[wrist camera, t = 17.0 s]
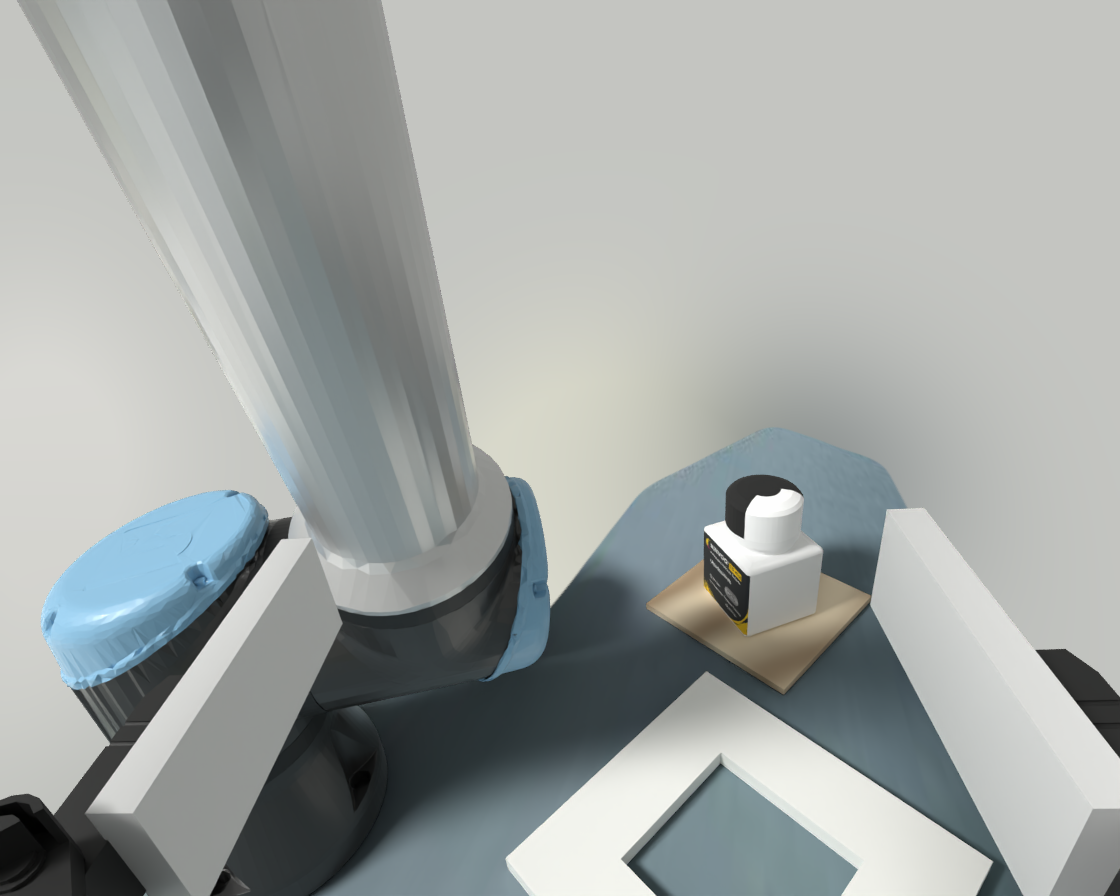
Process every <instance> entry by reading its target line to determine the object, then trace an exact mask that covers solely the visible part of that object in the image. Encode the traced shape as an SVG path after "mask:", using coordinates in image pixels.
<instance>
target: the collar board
mask: <svg viewBox="0 0 1120 896" xmlns="http://www.w3.org/2000/svg"><path fill="white" fill-rule="evenodd" d="M720 763H721V764H722V765H723V766H725V767H726V768H727V769H729V770H730V771H731V772H732V773H734V774H735V775H736V776H738V777H739V778H740V779H742V780H743V781H744V782H745V783H747V784H748V785H749V786H751V787H752V788H753V789H755V790H756V791H757V792H758V793H760V794H761V795H762V796H764V797H765V798H766V799H767V800H769V801H770V802H771V803H773V804H774V805H775V806H777V807H778V808H779V809H780V810H782V811H783V812H784V813H786V814H787V815H788V816H790V817H791V818H792V819H793V820H795V821H796V822H797V823H799V824H800V825H801V826H802V827H804V828H805V829H806V830H808V831H809V832H810V833H812V834H813V835H814V836H815V837H817V838H818V839H819V840H821V841H822V842H823V843H825V844H826V845H827V846H828V847H830V848H831V849H832V850H834V851H835V852H836V853H837V854H839V855H840V856H841V857H843V858H844V859H845V860H847V861H848V862H849V863H850V864H852V865H853V866H854V867H856V868H857V869H858V871H857V872H856V874H855V875H854V877H853V878H852V880H851V881H850V883H849V884H848V886H847V887H846V889H845V891H844V892H843V894H842V895H841V896H977V895H978V893H979V891H980V889H981V887H982V885H983V883H984V881H985V879H986V877H987V875H988V873H989V870H990V868H991V865H992V863H993V861H992V860H990V859H989V858H987V857H986V856H984V855H983V854H981V853H980V852H978V851H977V850H975V849H973V848H972V847H970V846H969V845H967V844H966V843H964V842H963V841H961V840H960V839H958V838H957V837H955V836H954V835H952V834H951V833H949V832H948V831H946V830H945V829H943V828H942V827H940V826H939V825H937V824H936V823H934V822H933V821H931V820H930V819H928V818H927V817H925V816H924V815H922V814H921V813H919V812H918V811H916V810H915V809H913V808H912V807H910V806H909V805H907V804H906V803H904V802H903V801H901V800H900V799H898V798H897V797H895V796H894V795H892V794H891V793H889V792H888V791H886V790H885V789H883V788H882V787H880V786H879V785H877V784H876V783H874V782H873V781H871V780H870V779H868V778H867V777H865V776H864V775H862V774H861V773H859V772H857V771H856V770H854V769H853V768H851V767H850V766H848V765H847V764H845V763H844V762H842V761H841V760H839V759H838V758H836V757H835V756H833V755H832V754H830V753H829V752H827V751H826V750H824V749H823V748H821V747H820V746H818V745H817V744H815V743H814V742H812V741H811V740H809V739H808V738H806V737H805V736H803V735H802V734H800V733H799V732H797V731H796V730H794V729H793V728H791V727H790V726H788V725H787V724H785V723H784V722H782V721H781V720H779V719H778V718H776V717H775V716H773V715H772V714H770V713H769V712H767V711H766V710H764V709H763V708H761V707H760V706H758V705H757V704H755V703H754V702H752V701H751V700H749V699H748V698H746V697H744V696H743V695H741V694H740V693H738V692H737V691H735V690H734V689H732V688H731V687H729V686H728V685H726V684H725V683H723V682H722V681H720V680H719V679H717V678H716V677H714V676H713V675H711V674H710V673H708V672H707V671H706V672H705V673H704V674H703V675H702V676H701V677H700V678H699V679H698V680H696V681H695V682H694V683H693V684H692V685H691V686H690V687H689V688H688V689H687V690H686V691H685V692H684V693H683V694H681V695H680V696H679V697H678V698H677V699H676V700H675V701H674V702H673V703H672V704H671V705H670V706H669V707H667V708H666V709H665V710H664V711H663V712H662V713H661V714H660V715H659V716H658V717H657V718H656V719H655V720H654V721H652V722H651V723H650V724H649V725H648V726H647V727H646V728H645V729H644V730H643V731H642V732H641V733H640V734H638V735H637V736H636V737H635V738H634V739H633V740H632V741H631V742H630V743H629V744H628V745H627V746H626V747H625V748H623V749H622V750H621V751H620V752H619V753H618V754H617V755H616V756H615V757H614V758H613V759H612V760H611V761H610V762H608V763H607V764H606V765H605V766H604V767H603V768H602V769H601V770H600V771H599V772H598V773H597V774H596V775H594V776H593V777H592V778H591V779H590V780H589V781H588V782H587V783H586V784H585V785H584V786H583V787H582V788H581V789H579V790H578V791H577V792H576V793H575V794H574V795H573V796H572V797H571V798H570V799H569V800H568V801H567V802H565V803H564V804H563V805H562V806H561V807H560V808H559V809H558V810H557V811H556V812H555V813H554V814H553V815H552V816H550V817H549V818H548V819H547V820H546V821H545V822H544V823H543V824H542V825H541V826H540V827H539V828H538V829H536V830H535V831H534V832H533V833H532V834H531V835H530V836H529V837H528V838H527V839H526V840H525V841H524V842H523V843H521V844H520V845H519V846H518V847H517V848H516V849H515V850H514V851H513V852H512V853H511V854H510V855H509V856H508V857H506V862H507V866H508V869H509V871H510V872H511V873H512V874H513V876H514V877H515V878H516V879H517V881H518V882H519V883H520V884H521V886H522V887H523V888H524V889H525V891H526V892H527V893H528V894H529V896H656V895H655V894H654V893H653V892H652V891H651V890H650V889H649V888H648V887H647V886H646V885H645V884H644V883H643V882H642V881H641V879H640V878H639V877H638V876H637V875H636V874H635V873H634V872H633V871H632V870H631V869H630V868H629V867H628V866H627V864H628V863H629V862H630V861H631V859H632V858H633V857H634V856H635V855H636V854H637V853H638V852H639V851H640V850H641V849H642V848H643V846H644V845H645V844H646V843H647V842H648V841H649V840H650V839H651V838H652V837H653V836H654V835H655V834H656V832H657V831H658V830H659V829H660V828H661V827H662V826H663V825H664V824H665V823H666V822H667V821H668V819H669V818H670V817H671V816H672V815H673V814H674V813H675V812H676V811H677V810H678V809H679V808H680V807H681V805H682V804H683V803H684V802H685V801H686V800H687V799H688V798H689V797H690V796H691V795H692V794H693V792H694V791H695V790H696V789H697V788H698V787H699V786H700V785H701V784H702V783H703V782H704V781H705V780H706V778H707V777H708V776H709V775H710V774H711V773H712V772H713V771H714V770H715V769H716V768H717V767H718V765H719V764H720Z"/></svg>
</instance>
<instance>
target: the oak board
mask: <svg viewBox="0 0 1120 896" xmlns="http://www.w3.org/2000/svg"><path fill="white" fill-rule="evenodd" d="M871 597H872V596H871V595H869V594H866V593H864V592H862V591H860V590H858V589H856V588H853V587H851V586H849V585H847V584H845V583H843V582H840V581H838V580H836V579H834V578H832V577H830V576H827V575H825V574H823V573H820V581H819V589H818V597H817V606H816V612H815V613H814V614H811V615H809V616H806V617H803V618H800V619H797V620H794V621H792V622H789V623H786V624H783V625H780V626H777V627H774V628H772V629H769V630H766V631H763V632H760V633H757V634H755V635H752V636H749V637H746V636H744V635H743V634H742V633H741V632H740V630H739V629H738V628H737V627H736V626H735V624H734V623H733V622H732V621H731V620H730V618H729V617H728V616H727V615H726V614H725V612H724V611H723V610H722V609H721V608H720V606H719V605H718V604H717V603H716V602H715V600H714V599H713V598H712V597H711V595H710V594H709V593H708V592H707V591H706V589H705V588H704V559H703V560H702V561H701V562H699V563H698V564H697V565H695V566H694V567H693V568H692V569H690V570H689V571H688V572H686V573H685V574H684V575H683V576H681V577H680V578H679V579H677V580H676V581H675V582H674V583H672V584H671V585H670V586H668V587H667V588H666V589H664V590H663V591H662V592H661V593H659V594H658V595H657V596H655V597H654V598H653V599H652V600H650V601H649V602H648V603H646V609H648V610H650V611H651V612H653V613H654V614H656V615H658V616H659V617H661V618H662V619H664V620H665V621H667V622H669V623H670V624H672V625H673V626H675V627H677V628H678V629H680V630H681V631H683V632H684V633H686V634H688V635H689V636H691V637H692V638H694V639H696V640H697V641H699V642H700V643H702V644H704V645H705V646H707V647H708V648H710V649H711V650H713V651H715V652H716V653H718V654H719V655H721V656H723V657H724V658H726V659H727V660H729V661H730V662H732V663H734V664H735V665H737V666H738V667H740V668H742V669H743V670H745V671H746V672H748V673H749V674H751V675H753V676H754V677H756V678H757V679H759V680H761V681H762V682H764V683H765V684H767V685H769V686H770V687H772V688H773V689H775V690H776V691H778V692H780V693H781V694H783V695H784V694H785V693H786V692H787V691H788V690H789V689H790V688H791V687H792V686H793V684H794V683H795V682H796V681H797V680H798V679H799V678H800V677H801V676H802V675H803V674H804V673H805V671H806V670H807V669H808V668H809V667H810V666H811V665H812V664H813V663H814V662H815V661H816V660H817V659H818V657H819V656H820V655H821V654H822V653H823V652H824V651H825V650H826V649H827V648H828V647H829V646H830V644H831V643H832V642H833V641H834V640H835V639H836V638H837V637H838V636H839V635H840V634H841V633H842V632H843V630H844V629H845V628H846V627H847V626H848V625H849V624H850V623H851V622H852V621H853V620H854V619H855V617H856V616H857V615H858V614H859V613H860V612H861V611H862V610H863V609H864V608H865V607H866V606H867V605H868V603H869V602H870V601H871Z"/></svg>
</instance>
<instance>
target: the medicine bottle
mask: <svg viewBox="0 0 1120 896" xmlns="http://www.w3.org/2000/svg"><path fill="white" fill-rule="evenodd" d="M803 502H804V497H803V494H802V493H801V491H800V490H799V489H798V488H797V487H796V486H795V485H794V484H793V483H791V482H789V481H788V480H785V479H783V478H780V477H776V476H771V475H751V476H746V477H743V478H740V479H738V480H736V481H735V482H734V483H732V484H731V485H730V486H729V487H728V489H727V491H726V511H725V521H722V522H719V523H715V524H712V525H709V526H706V527H705V529H704V588H705V589H706V591H707V592H708V593H709V594H710V595H711V597H712V598H713V599H714V600H715V602H716V603H717V604H718V605H719V606H720V608H721V609H722V610H723V611H724V612H725V614H726V615H727V616H728V617H729V618H730V620H731V621H732V622H733V623H734V624H735V626H736V627H737V628H738V629H739V630H740V632H741V633H742V634H743V635H744V636H746V637H749V636H752V635H755V634H757V633H760V632H763V631H766V630H769V629H772V628H774V627H777V626H780V625H783V624H786V623H789V622H792V621H794V620H797V619H800V618H803V617H806V616H809V615H811V614H814V613H815V612H816V606H817V597H818V589H819V581H820V573H821V565H822V557H823V549H822V548H821V547H820V546H819V545H818V544H816V543H815V542H814V541H813V540H812V539H810V538H809V537H808V536H807V535H806V534H805V533H803V532H802V531H801V522H802V512H803Z"/></svg>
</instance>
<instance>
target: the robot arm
mask: <svg viewBox="0 0 1120 896" xmlns="http://www.w3.org/2000/svg"><path fill="white" fill-rule="evenodd" d="M17 1H18V3H19V5H20V7H21V8H22V10H23V12H24V14H25V16H26V17H27V19H28V21H29V23H30V25H31V27H32V28H33V30H34V32H35V34H36V36H37V37H38V39H39V41H40V43H41V44H42V46H43V48H44V50H45V52H46V53H47V55H48V57H49V59H50V61H51V63H52V64H53V66H54V68H55V70H56V72H57V73H58V75H59V77H60V79H61V81H62V82H63V84H64V86H65V88H66V89H67V91H68V93H69V95H70V96H71V99H72V100H73V102H74V104H75V106H76V107H77V109H78V111H79V113H80V115H81V117H82V118H83V120H84V122H85V124H86V126H87V127H88V129H89V131H90V133H91V135H92V136H93V138H94V140H95V142H96V144H97V146H98V147H99V149H100V151H101V153H102V154H103V156H104V158H105V160H106V162H107V164H108V165H109V167H110V168H111V171H112V173H113V174H114V176H115V178H116V180H117V181H118V183H119V185H120V187H121V189H122V190H123V192H124V194H125V196H126V198H127V200H128V201H129V203H130V205H131V207H132V209H133V210H134V212H135V214H136V216H137V218H138V219H139V221H140V223H141V225H142V226H143V228H144V230H145V232H146V234H147V236H148V237H149V239H150V241H151V243H152V245H153V246H154V248H155V250H156V252H157V254H158V255H159V257H160V259H161V261H162V263H163V264H164V266H165V268H166V270H167V271H168V273H169V275H170V277H171V279H172V280H173V282H174V284H175V286H176V288H177V290H178V291H179V293H180V295H181V297H182V298H183V300H184V302H185V304H186V306H187V308H188V309H189V311H190V313H191V315H192V317H193V318H194V320H195V322H196V324H197V326H198V327H199V329H200V331H201V333H202V335H203V337H204V338H205V340H206V342H207V344H208V346H209V347H210V349H211V351H212V353H213V355H214V356H215V358H216V360H217V362H218V364H219V365H220V367H221V369H222V371H223V372H224V374H225V376H226V378H227V380H228V382H229V383H230V385H231V387H232V389H233V391H234V392H235V394H236V396H237V398H238V399H239V401H240V403H241V405H242V407H243V409H244V410H245V412H246V414H247V416H248V418H249V419H250V421H251V423H252V425H253V427H254V428H255V430H256V432H257V434H258V436H259V437H260V439H261V441H262V443H263V445H264V446H265V448H266V450H267V452H268V454H269V455H270V457H271V459H272V461H273V463H274V464H275V466H276V468H277V469H278V471H279V473H280V475H281V477H282V479H283V481H284V482H285V484H286V486H287V488H288V490H289V491H290V493H291V495H292V497H293V498H294V500H295V502H296V504H297V506H296V508H295V510H294V513H293V516H292V517H289V518H283V519H276V520H268V513H267V510H266V509H265V507H263V506H262V505H261V504H259V502H258V501H257V500H256V499H255V498H254V497H253V496H251V495H249V494H246V493H239V492H237V491H232V490H222V491H213V492H206V493H201V494H198V495H194V496H190V497H187V498H184V499H181V500H178V501H175V502H172V503H169V504H167V505H164V506H162V507H160V508H158V509H155V510H153V511H150V512H148V513H146V514H144V515H142V516H141V517H139V518H137V519H135V520H133V521H131V522H129V523H127V524H126V525H124V526H122V527H121V528H119V529H118V530H116V531H115V532H113V533H111V534H109V535H108V536H106V537H105V538H103V539H102V540H100V541H99V542H98V543H96V544H95V545H94V546H93V547H91V548H90V549H89V550H87V551H86V552H85V553H84V554H83V555H81V556H80V557H79V558H78V559H77V560H76V561H75V562H74V563H73V564H72V565H71V566H70V567H69V568H68V569H67V570H66V571H65V572H64V573H63V574H62V576H61V577H60V578H59V579H58V580H57V582H56V583H55V584H54V586H53V587H52V589H51V591H50V592H49V595H48V596H47V598H46V601H45V603H44V606H43V610H42V614H41V628H42V633H43V636H44V637H45V640H46V642H47V644H48V646H49V647H50V649H51V651H52V653H53V655H54V657H55V658H56V660H57V662H58V664H59V666H60V668H61V677H62V680H63V681H64V682H65V683H66V684H67V685H68V687H70V688H71V689H72V690H73V692H74V693H75V695H76V696H77V698H78V699H79V700H80V702H81V703H82V704H83V706H84V707H85V709H86V710H87V711H88V713H89V714H90V716H91V717H92V719H93V720H94V721H95V723H96V724H97V726H98V727H99V728H100V730H101V731H102V733H103V734H104V735H105V737H106V738H107V740H108V741H109V742H110V745H109V746H107V747H105V749H104V750H103V751H102V752H101V754H100V755H99V756H98V758H97V759H96V760H95V762H94V763H93V764H92V766H91V767H90V768H89V770H88V771H87V772H86V774H85V775H84V776H83V777H82V779H81V780H80V781H79V783H78V784H77V785H76V787H75V788H74V789H73V791H72V792H71V793H70V795H69V796H68V797H67V799H66V800H65V801H64V803H63V804H62V806H61V807H60V808H59V809H58V811H57V812H56V813H55V814H54V816H53V814H52V813H51V812H50V811H49V810H48V808H47V807H46V806H45V805H44V804H43V802H42V801H41V800H40V799H39V798H37V797H35V796H32V795H30V794H23V795H14V796H10V797H7V798H5V799H2V800H0V896H143V895H144V894H145V892H146V894H147V895H148V896H308V895H309V894H311V893H312V892H314V891H315V890H316V889H318V888H319V887H320V886H322V885H323V884H324V883H325V882H326V881H328V880H329V879H330V878H331V877H332V876H333V875H334V874H335V873H336V872H338V871H339V870H340V869H341V868H342V866H343V865H344V864H345V863H346V862H347V861H348V860H349V859H350V858H351V857H352V855H353V854H354V853H355V852H356V850H357V849H358V848H359V846H360V845H361V844H362V842H363V841H364V839H365V838H366V836H367V834H368V833H369V831H370V830H371V828H372V826H373V824H374V822H375V820H376V818H377V816H378V813H379V811H380V808H381V806H382V802H383V799H384V795H385V791H386V786H387V776H388V768H387V759H386V755H385V751H384V748H383V745H382V743H381V740H380V737H379V734H378V732H377V730H376V727H375V726H374V724H373V722H372V721H371V719H370V718H369V716H368V715H367V714H366V713H365V712H364V711H363V710H362V709H361V708H360V707H359V706H358V705H362V704H366V703H371V702H376V701H381V700H385V699H390V698H395V697H399V696H404V695H409V694H413V693H418V692H423V691H427V690H432V689H437V688H442V687H446V686H451V685H456V684H460V683H465V682H470V681H474V680H478V681H482V682H484V681H491V680H493V679H494V678H497V677H498V676H499V675H501V674H503V673H507V672H511V671H514V670H518V669H522V668H525V667H528V666H530V665H531V664H533V663H534V662H536V661H537V660H538V659H539V657H540V656H541V655H542V653H543V651H544V649H545V647H546V643H547V640H548V635H549V624H550V595H549V590H548V586H547V578H548V564H547V555H546V547H545V540H544V534H543V528H542V524H541V519H540V514H539V510H538V507H537V503H536V499H535V496H534V494H533V491H532V489H531V487H530V486H529V484H528V483H527V482H526V481H524V480H522V479H520V478H515V477H512V478H509V477H508V476H504V474H503V473H502V471H501V469H500V467H499V466H498V465H497V463H496V462H495V461H494V460H493V459H492V458H491V457H490V456H489V455H488V454H486V453H485V452H484V451H482V450H481V449H479V448H478V447H476V446H474V445H473V444H472V442H471V437H470V432H469V427H468V423H467V418H466V413H465V408H464V404H463V398H462V394H461V388H460V383H459V379H458V374H457V369H456V364H455V359H454V354H453V349H452V344H451V339H450V334H449V330H448V325H447V320H446V315H445V310H444V305H443V301H442V295H441V290H440V286H439V281H438V276H437V271H436V266H435V261H434V256H433V251H432V247H431V242H430V237H429V232H428V228H427V222H426V217H425V212H424V207H423V203H422V198H421V193H420V188H419V183H418V178H417V174H416V169H415V164H414V159H413V154H412V149H411V144H410V139H409V134H408V129H407V125H406V120H405V115H404V110H403V105H402V100H401V95H400V90H399V85H398V81H397V76H396V71H395V66H394V61H393V56H392V51H391V46H390V41H389V36H388V32H387V27H386V22H385V17H384V13H383V7H382V2H381V0H17ZM870 606H871V607H872V609H873V611H874V613H875V615H876V617H877V619H878V621H879V623H880V625H881V626H882V628H883V630H884V632H885V634H886V636H887V638H888V640H889V642H890V644H891V645H892V647H893V649H894V651H895V653H896V655H897V657H898V659H899V661H900V662H901V664H902V666H903V668H904V670H905V672H906V674H907V676H908V678H909V680H910V681H911V683H912V685H913V687H914V689H915V691H916V693H917V695H918V697H919V699H920V700H921V702H922V704H923V706H924V708H925V710H926V712H927V714H928V716H929V717H930V719H931V721H932V723H933V725H934V727H935V729H936V731H937V733H938V735H939V736H940V738H941V740H942V742H943V744H944V746H945V748H946V750H947V752H948V754H949V755H950V757H951V759H952V761H953V763H954V765H955V767H956V769H957V771H958V772H959V774H960V776H961V778H962V780H963V782H964V784H965V786H966V788H967V790H968V791H969V793H970V795H971V797H972V799H973V801H974V803H975V805H976V807H977V809H978V810H979V812H980V814H981V816H982V818H983V820H984V822H985V824H986V826H987V827H988V829H989V831H990V833H991V835H992V837H993V839H994V841H995V843H996V845H997V846H998V848H999V850H1000V852H1001V854H1002V856H1003V858H1004V860H1005V862H1006V863H1007V865H1008V867H1009V869H1010V871H1011V873H1012V875H1013V877H1014V879H1015V881H1016V882H1017V884H1018V886H1019V888H1020V890H1021V892H1022V894H1023V896H1120V697H1119V696H1118V695H1117V694H1116V692H1115V691H1114V690H1113V689H1112V688H1111V687H1110V685H1109V684H1108V683H1107V682H1106V681H1105V680H1104V678H1103V677H1102V676H1101V675H1100V674H1099V673H1098V672H1097V671H1095V670H1094V669H1093V668H1091V667H1090V666H1089V665H1087V664H1086V663H1084V662H1083V661H1082V660H1080V659H1079V658H1077V657H1076V656H1074V655H1073V654H1072V653H1070V652H1069V651H1067V650H1066V649H1054V650H1052V649H1051V650H1035V649H1034V648H1033V647H1032V646H1031V644H1030V643H1029V642H1028V641H1027V639H1026V638H1025V637H1024V635H1023V634H1022V633H1021V632H1020V630H1019V629H1018V628H1017V626H1016V625H1015V624H1014V623H1013V621H1012V620H1011V619H1010V617H1009V616H1008V615H1007V614H1006V612H1005V611H1004V610H1003V609H1002V607H1001V606H1000V605H999V603H998V602H997V601H996V600H995V598H994V597H993V596H992V594H991V593H990V592H989V591H988V589H987V588H986V587H985V585H984V584H983V583H982V582H981V580H980V579H979V578H978V576H977V575H976V574H975V573H974V571H973V570H972V569H971V567H970V566H969V565H968V564H967V563H966V561H965V560H964V558H963V557H962V556H961V555H960V553H959V552H958V551H957V550H956V548H955V547H954V546H953V544H952V543H951V542H950V541H949V539H948V538H947V537H946V535H945V534H944V533H943V532H942V530H941V529H940V528H939V527H938V525H937V524H936V523H935V521H934V520H933V519H932V518H931V516H930V515H929V514H928V512H927V511H926V510H925V509H924V508H912V509H892V510H887V513H886V519H885V525H884V530H883V536H882V541H881V547H880V553H879V558H878V564H877V569H876V575H875V581H874V586H873V592H872V597H871V603H870Z"/></svg>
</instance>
